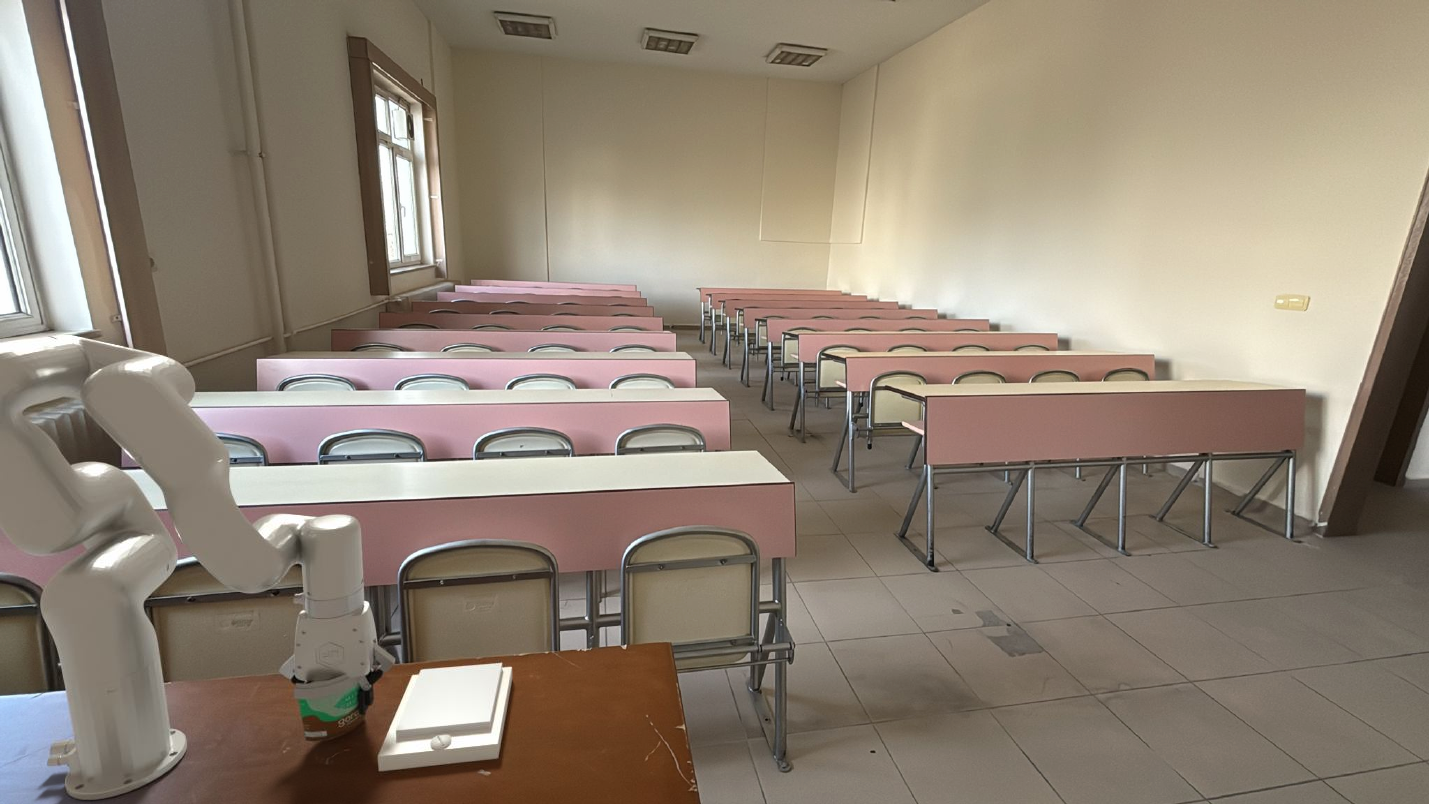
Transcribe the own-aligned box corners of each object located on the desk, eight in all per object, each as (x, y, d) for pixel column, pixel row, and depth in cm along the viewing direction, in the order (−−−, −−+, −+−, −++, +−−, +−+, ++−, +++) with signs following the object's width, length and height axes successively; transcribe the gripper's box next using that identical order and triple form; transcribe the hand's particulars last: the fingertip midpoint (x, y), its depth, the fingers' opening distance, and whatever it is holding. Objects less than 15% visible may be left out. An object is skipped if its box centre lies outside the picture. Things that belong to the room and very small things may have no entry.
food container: (336, 755, 92) (331, 692, 90) (297, 747, 93) (292, 685, 91) (392, 699, 104) (389, 643, 102) (358, 694, 105) (354, 638, 103)
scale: (378, 771, 91) (377, 748, 90) (413, 688, 109) (412, 668, 108) (498, 758, 94) (497, 736, 93) (512, 679, 112) (511, 660, 112)
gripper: (256, 616, 89) (265, 732, 92) (391, 610, 93) (395, 722, 96) (280, 590, 96) (288, 699, 100) (405, 585, 100) (409, 691, 103)
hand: (341, 709), depth 98 cm, fingers closed on food container, 6 cm apart
